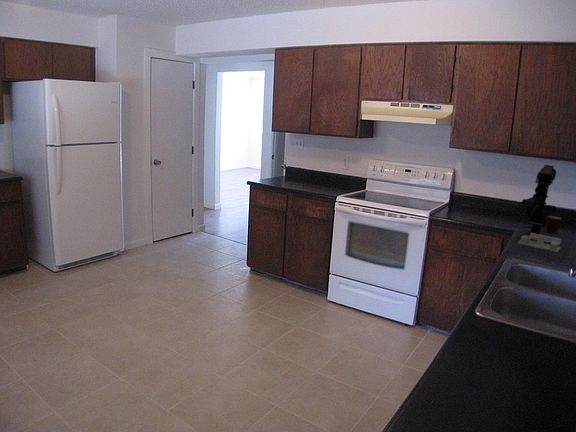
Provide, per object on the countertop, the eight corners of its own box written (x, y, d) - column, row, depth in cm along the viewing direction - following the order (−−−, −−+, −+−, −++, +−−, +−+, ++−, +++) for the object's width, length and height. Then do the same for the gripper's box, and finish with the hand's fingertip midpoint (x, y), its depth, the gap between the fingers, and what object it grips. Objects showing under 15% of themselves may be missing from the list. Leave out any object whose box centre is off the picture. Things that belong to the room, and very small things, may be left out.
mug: (541, 229, 306) (544, 214, 304) (554, 231, 304) (558, 216, 302) (546, 233, 296) (549, 217, 294) (559, 235, 294) (563, 219, 292)
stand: (522, 240, 272) (523, 233, 271) (560, 248, 260) (562, 242, 259) (517, 243, 264) (519, 236, 263) (557, 252, 252) (558, 245, 251)
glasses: (530, 237, 282) (531, 232, 281) (560, 243, 272) (561, 238, 272) (527, 239, 275) (528, 234, 274) (558, 246, 265) (559, 241, 265)
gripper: (517, 189, 269) (512, 215, 273) (545, 197, 252) (539, 224, 256) (531, 189, 273) (525, 215, 277) (559, 196, 256) (553, 224, 260)
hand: (535, 219), depth 267 cm, fingers open, 9 cm apart
